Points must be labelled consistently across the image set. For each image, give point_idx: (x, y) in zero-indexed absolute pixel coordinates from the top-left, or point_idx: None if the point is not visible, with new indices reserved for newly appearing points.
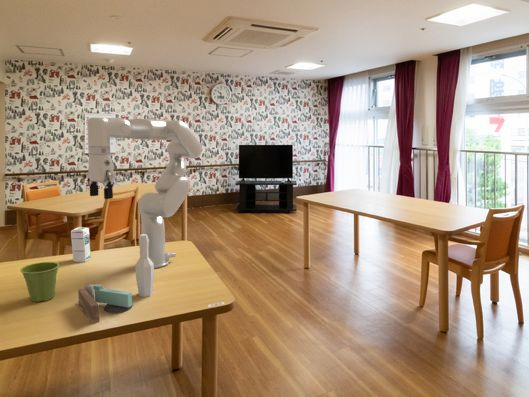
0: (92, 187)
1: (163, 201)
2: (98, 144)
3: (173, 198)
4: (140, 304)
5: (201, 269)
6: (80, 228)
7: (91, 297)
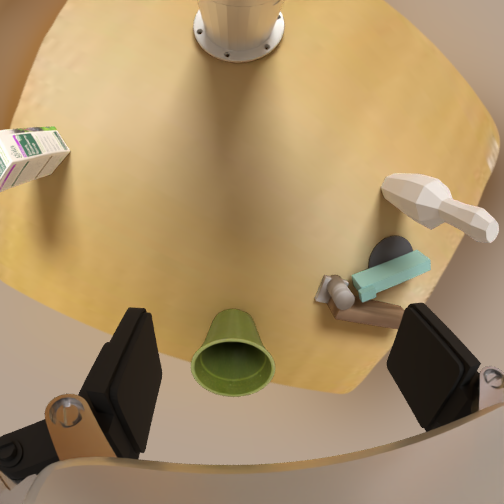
0: (141, 432)
1: None
2: None
3: None
4: (414, 227)
5: (373, 5)
6: None
7: (385, 317)
